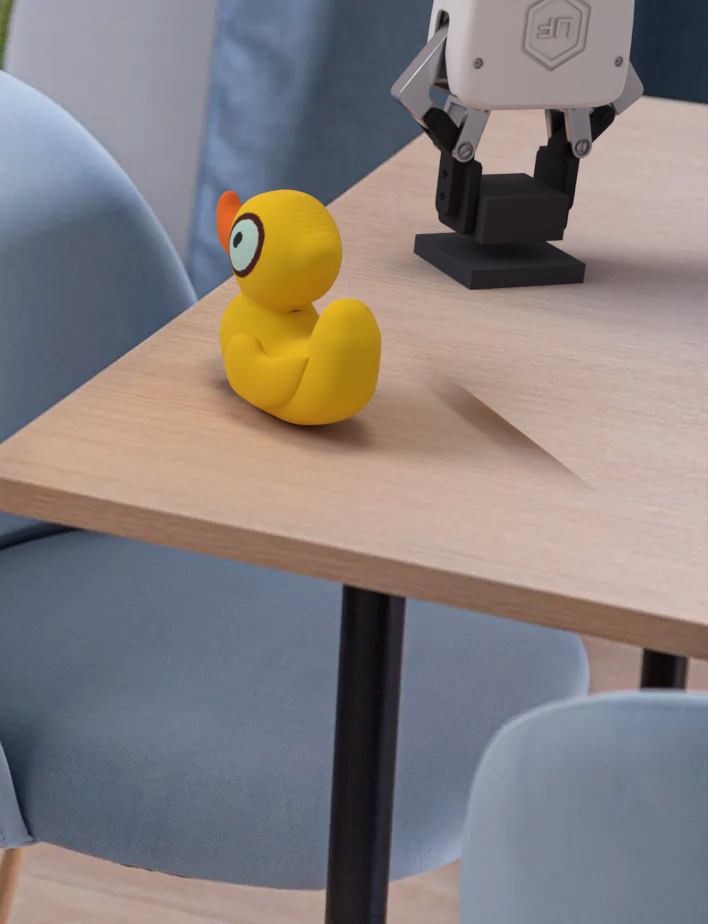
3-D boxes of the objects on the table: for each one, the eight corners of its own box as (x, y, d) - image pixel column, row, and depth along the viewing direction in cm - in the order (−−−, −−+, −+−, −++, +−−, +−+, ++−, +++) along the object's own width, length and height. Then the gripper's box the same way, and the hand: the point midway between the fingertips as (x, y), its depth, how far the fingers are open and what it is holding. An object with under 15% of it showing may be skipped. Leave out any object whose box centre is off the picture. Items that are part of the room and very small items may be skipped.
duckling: (165, 378, 84) (175, 171, 80) (257, 362, 87) (272, 161, 83) (305, 464, 76) (325, 237, 71) (403, 443, 78) (428, 223, 74)
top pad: (518, 215, 101) (524, 172, 100) (563, 240, 96) (569, 195, 95) (440, 219, 99) (445, 175, 98) (481, 244, 95) (487, 199, 94)
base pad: (518, 269, 103) (524, 228, 102) (579, 307, 97) (586, 263, 96) (410, 276, 101) (415, 233, 100) (466, 314, 95) (472, 270, 94)
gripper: (429, -117, 84) (390, 252, 92) (732, -111, 89) (671, 238, 97) (364, -134, 90) (333, 213, 98) (651, -127, 96) (600, 202, 103)
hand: (502, 222), depth 98 cm, fingers closed on top pad, 5 cm apart
